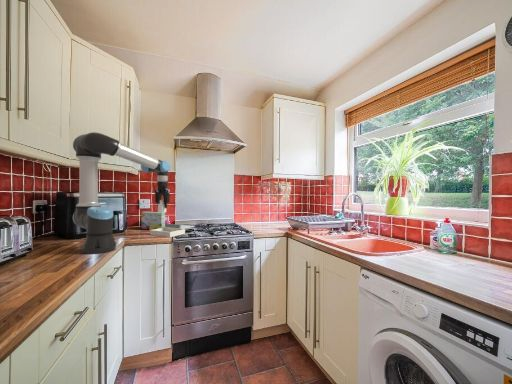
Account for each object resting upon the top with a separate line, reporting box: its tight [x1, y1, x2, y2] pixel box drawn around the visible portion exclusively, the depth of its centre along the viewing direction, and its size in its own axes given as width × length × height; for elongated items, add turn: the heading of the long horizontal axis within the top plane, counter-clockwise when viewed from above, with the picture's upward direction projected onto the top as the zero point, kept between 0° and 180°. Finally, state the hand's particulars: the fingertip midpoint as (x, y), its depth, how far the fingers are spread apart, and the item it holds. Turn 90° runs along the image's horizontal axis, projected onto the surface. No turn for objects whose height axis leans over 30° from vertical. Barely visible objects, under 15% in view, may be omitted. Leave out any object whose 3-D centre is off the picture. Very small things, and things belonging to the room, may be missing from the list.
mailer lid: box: [162, 223, 196, 230], centre depth 183 cm, size 16×20×3 cm
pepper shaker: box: [157, 199, 166, 214], centre depth 169 cm, size 4×4×10 cm
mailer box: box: [149, 228, 186, 238], centre depth 171 cm, size 16×20×4 cm
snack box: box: [140, 211, 166, 231], centre depth 192 cm, size 21×6×15 cm, turn 73°
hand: (162, 212), depth 169 cm, fingers closed on pepper shaker, 4 cm apart
